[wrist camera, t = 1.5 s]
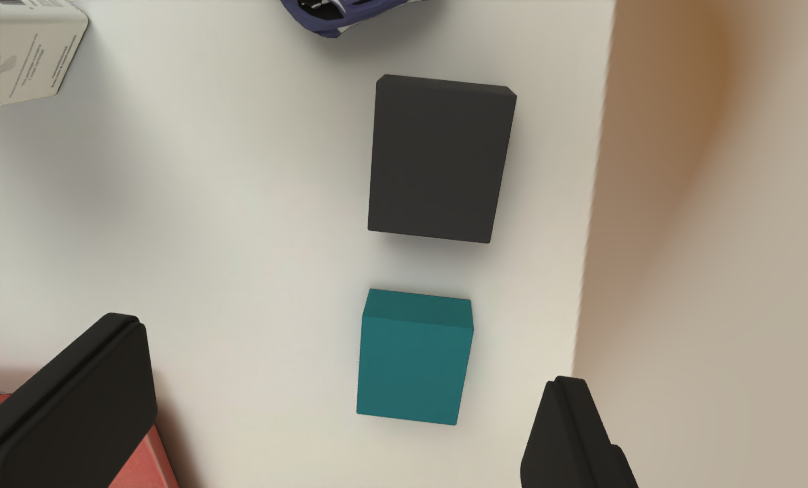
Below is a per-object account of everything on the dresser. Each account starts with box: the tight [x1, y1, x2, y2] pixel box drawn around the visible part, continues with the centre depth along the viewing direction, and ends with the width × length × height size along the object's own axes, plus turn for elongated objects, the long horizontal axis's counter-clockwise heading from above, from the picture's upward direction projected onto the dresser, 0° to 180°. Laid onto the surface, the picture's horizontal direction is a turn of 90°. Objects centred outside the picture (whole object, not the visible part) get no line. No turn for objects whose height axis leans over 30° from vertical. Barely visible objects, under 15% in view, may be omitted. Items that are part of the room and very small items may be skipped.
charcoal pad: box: [368, 74, 517, 244], centre depth 23 cm, size 6×7×3 cm
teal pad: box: [356, 289, 474, 425], centre depth 28 cm, size 6×7×3 cm
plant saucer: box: [0, 394, 179, 488], centre depth 35 cm, size 18×18×3 cm
